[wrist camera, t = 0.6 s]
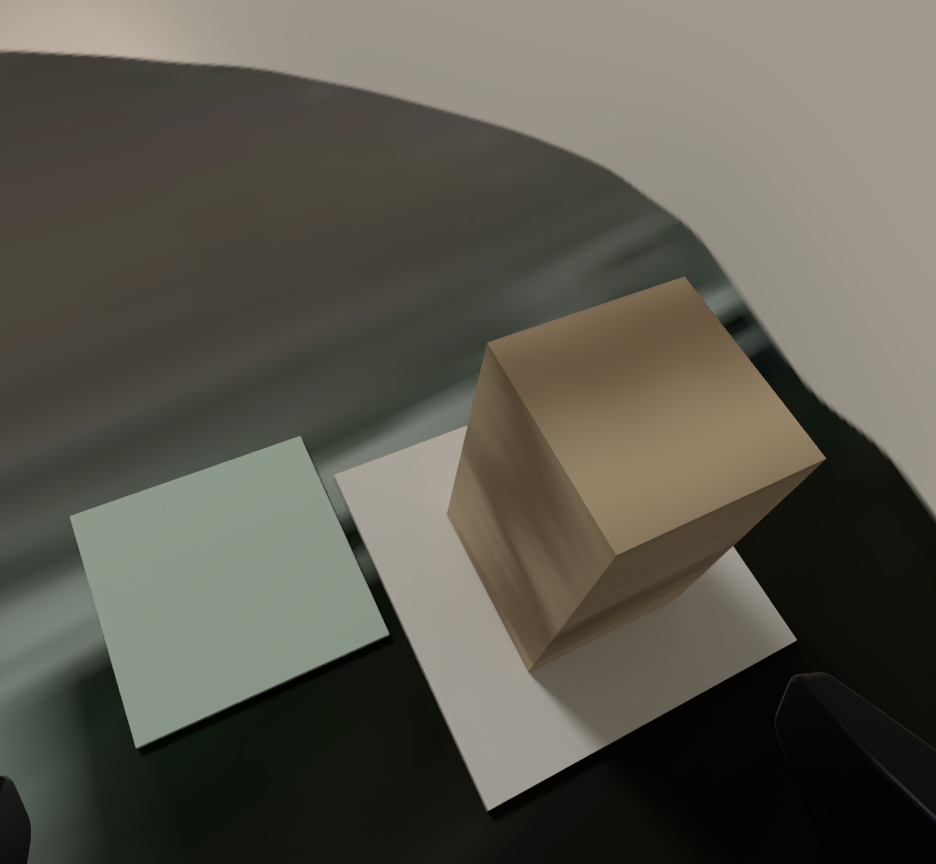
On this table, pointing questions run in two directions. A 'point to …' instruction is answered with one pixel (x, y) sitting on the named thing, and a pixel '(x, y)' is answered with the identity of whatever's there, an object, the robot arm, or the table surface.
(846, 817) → the robot arm
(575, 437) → the oak block
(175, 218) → the table surface
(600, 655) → the tile
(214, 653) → the green mat
